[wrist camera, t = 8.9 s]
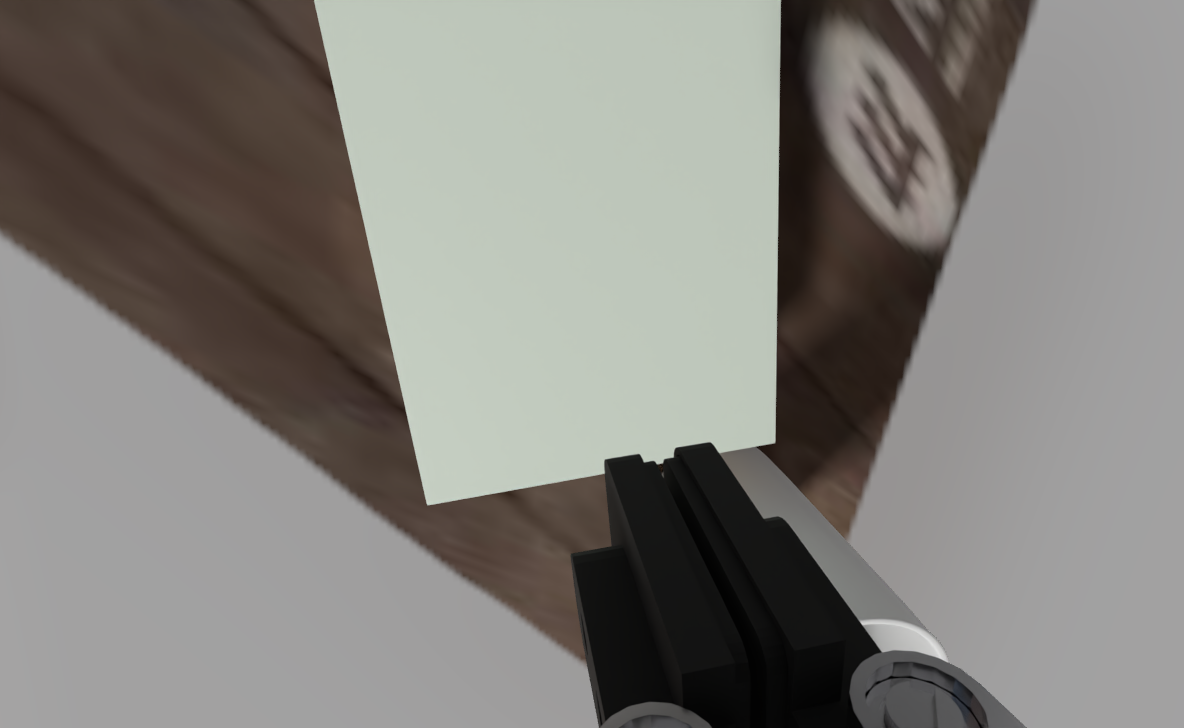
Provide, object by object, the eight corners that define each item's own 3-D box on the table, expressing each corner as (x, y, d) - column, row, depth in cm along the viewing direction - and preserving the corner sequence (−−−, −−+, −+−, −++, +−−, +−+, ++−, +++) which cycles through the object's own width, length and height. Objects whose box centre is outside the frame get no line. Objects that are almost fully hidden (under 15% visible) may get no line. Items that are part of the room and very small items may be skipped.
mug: (783, 422, 30) (965, 599, 18) (779, 541, 32) (938, 761, 21) (570, 454, 28) (627, 666, 17) (583, 576, 31) (640, 829, 20)
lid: (284, -158, 15) (275, -173, 15) (769, -178, 17) (783, -193, 16) (428, 492, 22) (427, 505, 21) (765, 433, 24) (775, 442, 23)
